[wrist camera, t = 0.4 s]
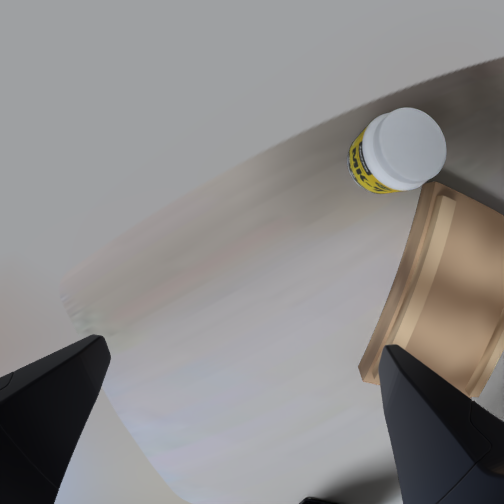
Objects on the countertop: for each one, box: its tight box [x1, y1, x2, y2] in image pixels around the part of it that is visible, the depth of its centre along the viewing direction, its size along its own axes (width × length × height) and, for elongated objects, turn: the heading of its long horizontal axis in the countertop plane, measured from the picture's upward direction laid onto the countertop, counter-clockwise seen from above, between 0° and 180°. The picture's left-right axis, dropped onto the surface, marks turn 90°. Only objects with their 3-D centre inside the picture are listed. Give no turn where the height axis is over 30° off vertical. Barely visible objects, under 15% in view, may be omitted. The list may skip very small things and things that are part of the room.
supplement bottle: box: [347, 107, 447, 194], centre depth 17 cm, size 5×5×8 cm
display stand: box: [358, 181, 504, 398], centre depth 20 cm, size 16×12×4 cm
